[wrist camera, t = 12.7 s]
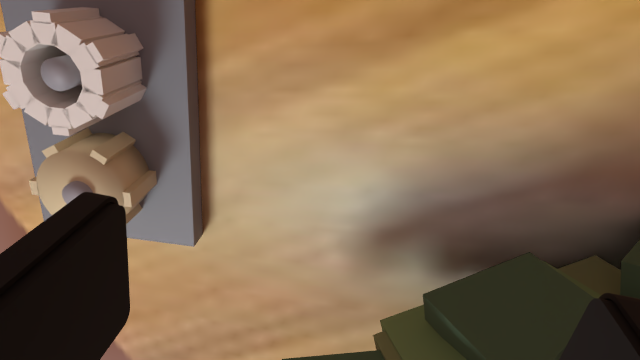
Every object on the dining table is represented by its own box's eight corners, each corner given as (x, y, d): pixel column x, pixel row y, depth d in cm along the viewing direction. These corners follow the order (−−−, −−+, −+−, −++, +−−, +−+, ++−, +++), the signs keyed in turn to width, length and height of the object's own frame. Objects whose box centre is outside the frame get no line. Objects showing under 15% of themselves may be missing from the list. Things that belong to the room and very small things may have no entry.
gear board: (9, -66, 31) (-95, -79, 24) (193, -50, 30) (139, -59, 23) (60, 215, 40) (-5, 263, 33) (202, 234, 39) (165, 287, 32)
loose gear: (42, 3, 30) (-17, 6, 26) (140, 12, 30) (98, 17, 25) (59, 109, 33) (10, 129, 29) (149, 119, 33) (113, 141, 28)
